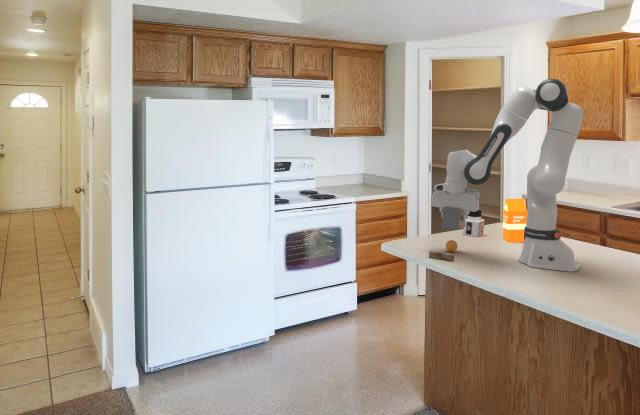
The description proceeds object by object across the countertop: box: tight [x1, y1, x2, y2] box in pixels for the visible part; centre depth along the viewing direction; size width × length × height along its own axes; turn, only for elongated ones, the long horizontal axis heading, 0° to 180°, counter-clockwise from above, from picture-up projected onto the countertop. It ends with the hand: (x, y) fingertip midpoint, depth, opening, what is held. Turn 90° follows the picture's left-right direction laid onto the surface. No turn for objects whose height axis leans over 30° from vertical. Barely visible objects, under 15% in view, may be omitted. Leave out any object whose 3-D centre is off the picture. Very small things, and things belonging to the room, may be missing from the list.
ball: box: [445, 239, 458, 253], centre depth 228 cm, size 5×5×5 cm
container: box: [462, 208, 485, 238], centre depth 261 cm, size 8×8×13 cm
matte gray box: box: [441, 207, 466, 231], centre depth 226 cm, size 7×7×9 cm
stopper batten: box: [428, 250, 455, 262], centre depth 216 cm, size 10×2×2 cm, turn 56°
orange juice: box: [502, 198, 527, 243], centre depth 250 cm, size 8×9×20 cm
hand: (453, 219), depth 226 cm, fingers closed on matte gray box, 7 cm apart
